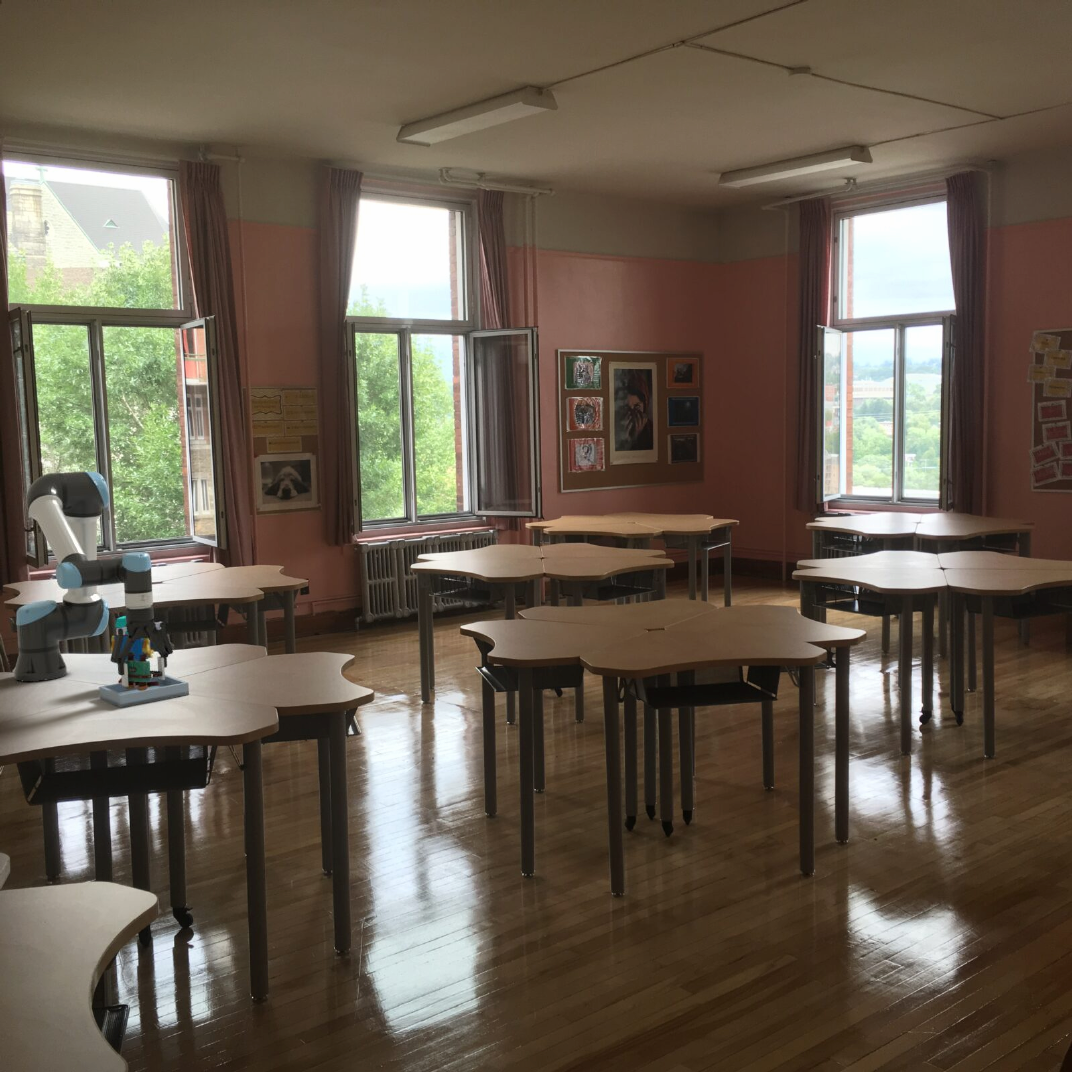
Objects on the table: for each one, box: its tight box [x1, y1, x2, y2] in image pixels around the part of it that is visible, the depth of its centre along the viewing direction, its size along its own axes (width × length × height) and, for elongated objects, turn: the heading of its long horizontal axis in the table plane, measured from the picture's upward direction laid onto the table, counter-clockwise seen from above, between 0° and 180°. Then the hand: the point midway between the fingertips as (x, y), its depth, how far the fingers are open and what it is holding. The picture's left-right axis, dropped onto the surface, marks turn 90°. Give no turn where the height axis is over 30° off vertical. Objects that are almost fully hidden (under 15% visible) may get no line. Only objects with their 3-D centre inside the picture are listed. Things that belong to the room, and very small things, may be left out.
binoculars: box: [125, 652, 163, 691], centre depth 313 cm, size 9×11×10 cm
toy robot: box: [110, 606, 155, 683], centre depth 327 cm, size 12×6×25 cm, turn 84°
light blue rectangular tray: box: [98, 674, 190, 709], centre depth 314 cm, size 15×20×4 cm
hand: (143, 682), depth 313 cm, fingers closed on binoculars, 10 cm apart
